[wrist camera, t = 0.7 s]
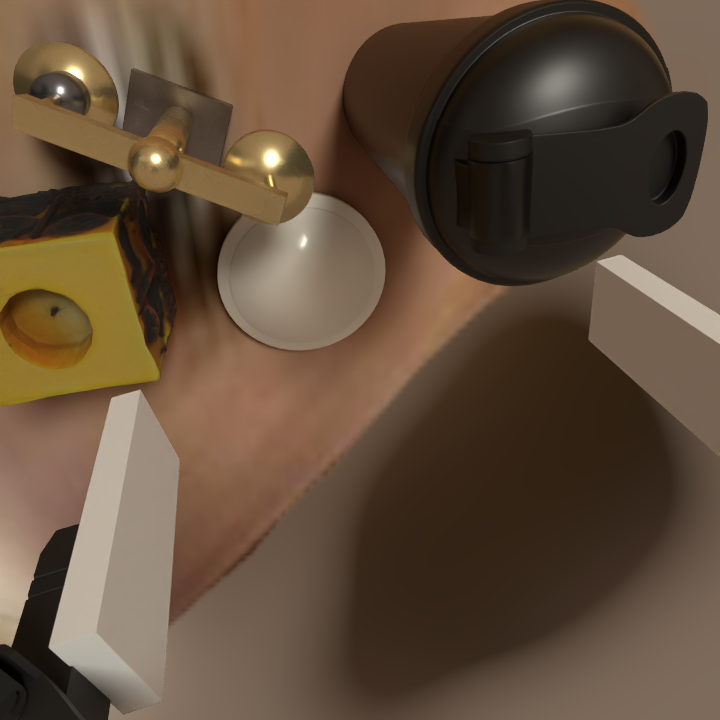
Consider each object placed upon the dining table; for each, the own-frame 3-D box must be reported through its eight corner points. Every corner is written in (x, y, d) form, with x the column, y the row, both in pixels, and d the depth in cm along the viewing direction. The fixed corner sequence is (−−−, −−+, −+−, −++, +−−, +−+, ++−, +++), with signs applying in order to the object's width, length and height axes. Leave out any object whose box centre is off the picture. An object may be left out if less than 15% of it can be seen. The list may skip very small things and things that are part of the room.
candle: (143, 176, 35) (116, 224, 27) (181, 308, 41) (168, 381, 33) (-20, 195, 34) (-100, 251, 26) (43, 329, 40) (-6, 410, 31)
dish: (200, 325, 42) (200, 333, 41) (241, 165, 36) (242, 170, 35) (350, 358, 47) (352, 365, 46) (407, 221, 41) (412, 226, 40)
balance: (34, 114, 32) (-71, 167, 21) (41, 23, 30) (-74, 28, 18) (286, 195, 38) (310, 271, 26) (307, 124, 35) (344, 175, 24)
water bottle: (475, 158, 39) (703, 290, 20) (343, 185, 38) (452, 350, 19) (473, -6, 33) (789, -35, 14) (317, 22, 32) (437, 29, 14)
